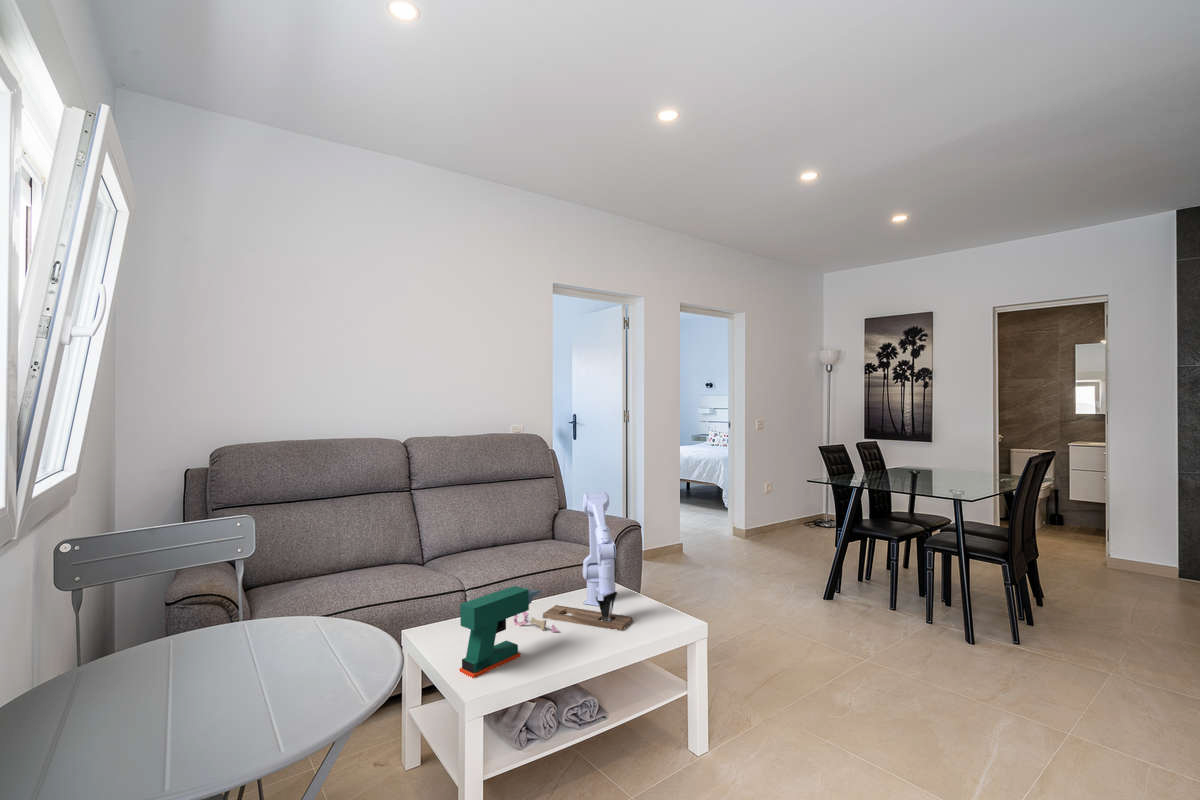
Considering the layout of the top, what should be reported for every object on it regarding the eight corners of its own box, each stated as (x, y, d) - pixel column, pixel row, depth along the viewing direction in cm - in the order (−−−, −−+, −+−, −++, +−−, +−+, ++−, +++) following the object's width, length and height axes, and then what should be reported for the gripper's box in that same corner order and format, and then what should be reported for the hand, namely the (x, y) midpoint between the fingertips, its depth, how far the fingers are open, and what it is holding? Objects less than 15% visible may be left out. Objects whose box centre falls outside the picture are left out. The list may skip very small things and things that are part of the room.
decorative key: (557, 642, 197) (511, 623, 206) (559, 641, 198) (513, 622, 207) (559, 623, 196) (513, 605, 206) (561, 622, 197) (515, 604, 207)
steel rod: (604, 620, 209) (604, 598, 209) (613, 621, 208) (613, 599, 208) (600, 623, 206) (600, 601, 206) (609, 625, 204) (609, 602, 204)
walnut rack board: (556, 608, 221) (555, 605, 221) (632, 621, 208) (632, 616, 208) (542, 617, 212) (542, 613, 212) (622, 630, 199) (622, 626, 199)
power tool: (535, 637, 194) (535, 578, 194) (550, 642, 190) (549, 582, 190) (458, 671, 169) (457, 603, 170) (473, 678, 165) (472, 608, 165)
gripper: (602, 570, 215) (603, 606, 215) (589, 581, 201) (589, 620, 201) (620, 572, 213) (620, 608, 213) (608, 583, 199) (608, 622, 199)
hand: (607, 614), depth 207 cm, fingers closed on steel rod, 4 cm apart
